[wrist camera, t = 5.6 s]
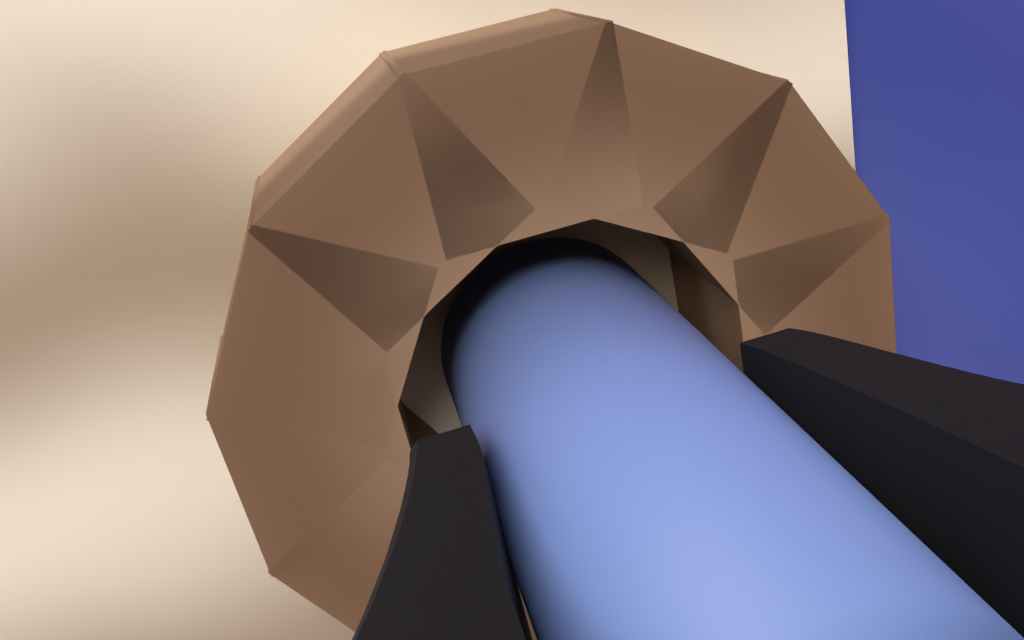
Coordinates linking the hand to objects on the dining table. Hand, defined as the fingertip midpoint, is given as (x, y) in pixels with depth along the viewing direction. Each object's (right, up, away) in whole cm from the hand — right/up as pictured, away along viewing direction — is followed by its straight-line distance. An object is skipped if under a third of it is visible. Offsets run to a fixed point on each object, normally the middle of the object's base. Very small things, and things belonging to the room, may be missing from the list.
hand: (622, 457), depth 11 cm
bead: (-1, +2, +4) cm, 4 cm away
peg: (-1, +1, +3) cm, 3 cm away
